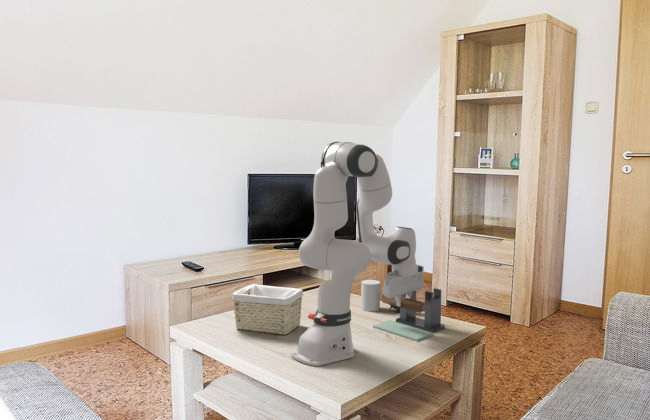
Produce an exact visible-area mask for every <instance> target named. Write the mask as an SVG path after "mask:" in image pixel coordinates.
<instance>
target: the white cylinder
mask: <svg viewBox="0 0 650 420" xmlns="http://www.w3.org/2000/svg"><path fill="white" fill-rule="evenodd" d="M360 284H361V286H360V287H361V289H360V291H361V294H360V296H361V297H360V298H361V299H360V303H361V304H360V310H361V311H363V312H368V313H370V312H371V313H373V312H374V313H375V312H378V311H380V310H381V281H379V280H377V279H365V280H362V281H361V283H360Z"/></svg>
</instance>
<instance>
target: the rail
mask: <svg viewBox="0 0 650 420" xmlns="http://www.w3.org/2000/svg"><path fill="white" fill-rule="evenodd" d="M381 300H382V301H381V303H382V304H386V305H389V306H390V305H393V306H397V305H396V300H395V298H394V297H392V298H388V297H385V296H384V295H383V293H382V298H381ZM400 300H401V301H402V306H397V307H400V308H404V309H408V310H411V311H415V312H416V313H419V314H420V313H424V312H425V301H420V300H417V299H416V300H413V299H409V298H405V297H401V298H400Z"/></svg>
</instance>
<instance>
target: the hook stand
mask: <svg viewBox="0 0 650 420" xmlns="http://www.w3.org/2000/svg"><path fill="white" fill-rule="evenodd" d="M401 297H406V294H403V295H401ZM410 299H413V300H417V290H416V291H413V292H412V296H411V298H410ZM424 302H425V311H424V318H420V317H417V316H416V315H417V312H415V311H411V310H408V309H404V308H400V310H399V317H398V318H396V319H395V322H397V323H401V324H404V325H408V326H411V327H414V328H418V329H421V330H424V331H428V332H431V333H433V334H434V333H436V332H439V331H441V330H443V329H445V328H446V324H442V323H441V321H442V320H441V318H442V317H441V316H442V289H441V288H436V287H435V288H433V291H429V290H425V291H424Z"/></svg>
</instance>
